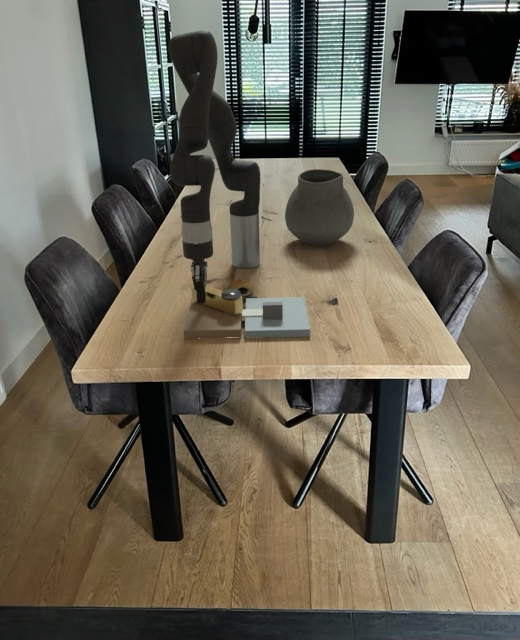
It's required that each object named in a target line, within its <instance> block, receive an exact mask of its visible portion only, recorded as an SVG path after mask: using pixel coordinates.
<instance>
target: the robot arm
mask: <svg viewBox="0 0 520 640" xmlns="http://www.w3.org/2000/svg"><path fill="white" fill-rule="evenodd" d="M168 53H169V55H170V59H171V63H172V65H173V67H174V69H175V71H176V73H177V75H178V78H179V79H180V81H181V83H182V85H183V87H184V88H185V90H186V92H187V93H188V96H187V97H186V99H185V101H184V103H183V105H182V107H181V109H180V114H179V120H178V121H179V123H178V125H179V126H178V140H177V144H176V147H175V151H174V153H173V156H172V159H171V162H170V167H169V175H170V179H171V181H172V182H173V183H174V184H175V185H176V186H179V187H181V186H182V187H184V186H185V187H187V186H188V187H194V186H199V187H200V190H199V191H198V192H195V193H192V194H188V195H185V196H182V197H181V199H180V214H181V215H180V216H181V240H182V254H183V257H184V258H186V259H187V260H192V261H191V264H190V272H191V275H192V277H191V279H192V284H193V286H194V289H195V290H196V293H197V303H205V302H206V292H205V289H206V286H207V284H206V283H207V278H208V270H207V269H208V267H209V266H208V261H207V259H210V258H211V257H213V255H214V243H213V241H214V240H213V228H212V222H211V209H210V207H211V206H210V205H211V203H210V201H211V192H212V186H213V182H214V178H215V173H216V165H215V162H214V160H213V158H212V157H211V156H210V155H207V154H194V153H196V152H201V151H203V150H205V149H206V148H207V147H208V144H210V147H211V149H212V152H213V154H214V157H215V161H216V163H217V167H218V170H219V173H220V174H219V175H220V177H221V180H222V182H223V185H224V186H225V188H226V189H228V190H229V191H233V192H243V194H244V195H243V198H242V199H240V200H237V201H234V202H233V201H232V203H230V205H229V221H230V223H229V224H230V226H229V227H230V244H231V245H230V246H231V247H230V249H231V265H232V267H235V268H237V269H253V268H257V267H258V266H260V264H261V255H260V252H261V246H260V210H259V209H260V201H261V198H260V196H261V194H260V193H261V171H260V170H261V169H260V167H259V166H260V165H258V163H257V162H255V161H253V160H252V161H251V160H250V161H249V160H237V159H235V158H234V156H233V153H232V147H233V144H234V141H235V138H236V136H237V131H238V126H237V122H236V118H235V116H234V114H233V113H234V112H233V111H232V108H231V105H230V104H229V103H228V101H227V100H225V98H224V97H222V96H221V95H220V94H218V92H216V91H215V90H214V86H215V85H214V84H215V79H216V73H217V68H218V47H217V43H216V40H215V37H214V36H213V34H212V33H211V32H210V31H209V30H208V29H207V30H206V29H204V30H202V29H201V30H197V31H191V32H186V33H181V34H177V35H175V36H172V37H171V38H170V39H169V41H168Z"/></svg>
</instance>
